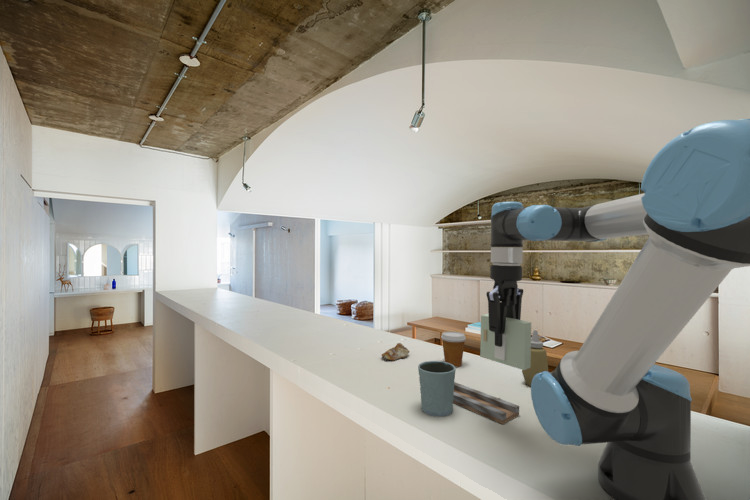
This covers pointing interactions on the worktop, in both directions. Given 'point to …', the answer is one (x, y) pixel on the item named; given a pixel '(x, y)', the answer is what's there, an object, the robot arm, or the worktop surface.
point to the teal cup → (436, 387)
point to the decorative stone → (396, 352)
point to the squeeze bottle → (536, 359)
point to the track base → (484, 404)
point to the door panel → (508, 342)
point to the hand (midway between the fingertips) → (504, 357)
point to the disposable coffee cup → (453, 347)
